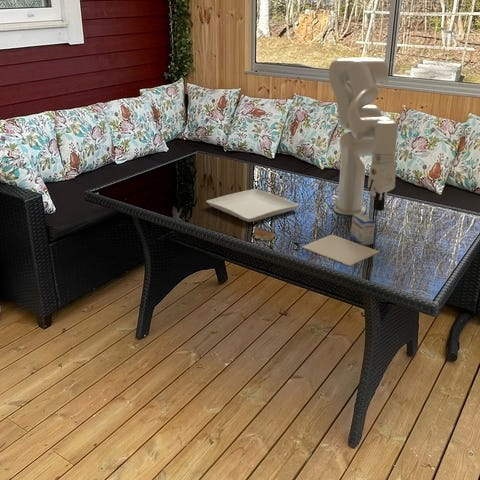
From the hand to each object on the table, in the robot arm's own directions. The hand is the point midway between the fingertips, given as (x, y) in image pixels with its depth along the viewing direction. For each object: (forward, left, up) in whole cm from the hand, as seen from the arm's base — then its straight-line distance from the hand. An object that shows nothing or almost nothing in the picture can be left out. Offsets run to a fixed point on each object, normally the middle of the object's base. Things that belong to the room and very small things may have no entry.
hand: (378, 209), depth 192 cm
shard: (-28, -31, -11) cm, 43 cm away
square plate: (-50, -14, -10) cm, 52 cm away
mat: (-1, -20, -10) cm, 22 cm away
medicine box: (-1, -8, -10) cm, 13 cm away
